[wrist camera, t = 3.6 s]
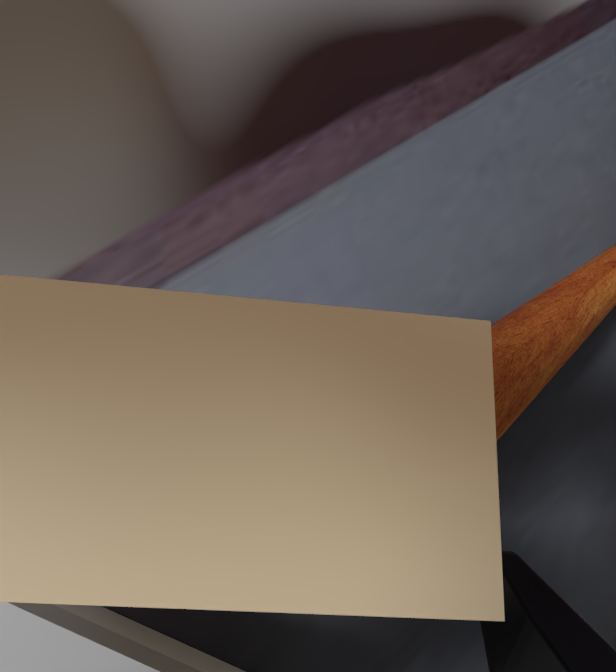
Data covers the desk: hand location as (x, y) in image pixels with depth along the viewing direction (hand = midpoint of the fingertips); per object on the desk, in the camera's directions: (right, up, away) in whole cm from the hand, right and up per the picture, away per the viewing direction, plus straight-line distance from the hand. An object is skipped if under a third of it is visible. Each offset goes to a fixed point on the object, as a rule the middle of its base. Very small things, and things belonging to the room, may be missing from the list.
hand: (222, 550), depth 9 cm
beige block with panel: (-1, -1, +9) cm, 9 cm away
